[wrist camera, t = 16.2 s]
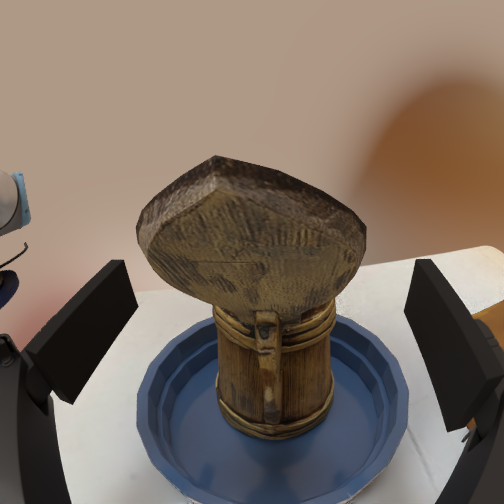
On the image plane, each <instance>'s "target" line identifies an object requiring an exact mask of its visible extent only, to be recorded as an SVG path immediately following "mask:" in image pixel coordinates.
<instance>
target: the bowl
mask: <svg viewBox="0 0 504 504" xmlns="http://www.w3.org/2000/svg"><path fill="white" fill-rule="evenodd" d="M330 355H331V369H332V373H333V378H334V401H333V403H332V406H331V408H330V410H329V412H328V414H327V417H326V418H325V419H324V420H323V421H321V422H320V423H319V424H318V425H317V426H315V427H314V428H312V429H310V430H308V431H306V432H304V433H302V434H300V435H298V436H295V437H291V438H288V439H284V440H268V439H262V438H257V437H253V436H249V435H246V434H244V433H242V432H240V431H238V430H237V429H235V428H233V427H232V426H231V425H230V424H229V423H228V422H227V420H226V419H225V418H224V417H223V416H222V413H221V411H220V408H219V405H218V402H217V394H216V378H217V374H218V371H219V369H218V336H217V327H216V324H215V321H214V318H213V317H211V318H208V319H206V320H203V321H201V322H198V323H197V324H195V325H193V326H192V327H190V328H189V329H187V330H186V331H184V332H183V333H181V334H180V335H178V336H177V337H175V338H174V339H172V340H171V341H170V342H169V343H168V344H167V345H166V346H165V347H164V349H163V350H162V351H161V352H160V353H159V354H158V355H157V357H156V358H155V359H154V360H153V361H152V362H151V363H150V365H149V367H148V369H147V372H146V374H145V376H144V379H143V381H142V383H141V386H140V388H139V390H138V393H137V429H138V432H139V435H140V437H141V440H142V442H143V444H144V447H145V449H146V452H147V454H148V456H149V459H150V461H151V463H152V464H153V465H154V466H155V467H156V469H157V470H158V471H159V472H160V473H161V474H162V475H163V476H164V477H165V478H166V479H167V480H168V481H169V482H171V483H172V484H173V485H174V486H175V487H176V488H177V489H178V490H179V491H180V492H181V493H182V494H183V495H185V496H186V497H187V498H188V499H189V500H191V501H192V502H193V503H195V504H346V503H347V502H348V501H350V500H351V499H352V498H353V497H355V496H356V495H357V494H358V493H359V492H361V491H362V490H363V489H364V488H365V487H367V486H368V485H369V484H370V483H371V482H372V481H373V480H374V479H375V478H376V477H377V476H378V475H379V474H380V473H381V472H382V471H383V470H384V469H385V467H386V466H387V465H388V464H389V463H390V461H391V459H392V457H393V455H394V453H395V451H396V449H397V447H398V445H399V443H400V441H401V439H402V437H403V434H404V432H405V430H406V428H407V422H408V402H409V390H408V387H407V384H406V381H405V379H404V376H403V373H402V371H401V368H400V365H399V363H398V361H397V359H396V358H395V357H394V355H393V354H392V353H391V352H390V351H389V350H388V348H387V347H386V346H385V345H384V344H383V343H382V341H381V340H380V339H379V338H378V337H377V336H376V335H374V334H373V333H371V332H370V331H368V330H367V329H365V328H364V327H362V326H361V325H359V324H357V323H356V322H354V321H353V320H351V319H348V318H346V317H343V316H340V315H337V314H336V323H335V325H334V327H333V328H332V330H331V332H330Z"/></svg>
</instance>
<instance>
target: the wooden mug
mask: <svg viewBox="0 0 504 504" xmlns="http://www.w3.org/2000/svg"><path fill="white" fill-rule="evenodd" d="M136 234H137V240H138V244H139V246H140V248H141V250H142V251H143V253H144V255H145V257H146V258H147V260H148V262H149V263H150V265H151V266H152V268H153V270H154V271H155V272H156V273H157V274H158V275H159V276H160V277H161V278H162V279H163V280H164V281H166V282H167V283H168V284H169V285H171V286H173V287H174V288H176V289H178V290H179V291H181V292H183V293H185V294H188V295H190V296H192V297H194V298H197V299H199V300H202V301H204V302H206V303H209V304H212V305H213V318H214V321H215V324H216V327H217V336H218V369H219V371H218V374H217V378H216V394H217V402H218V405H219V408H220V411H221V413H222V416H223V417H224V418H225V419H226V420H227V422H228V423H229V424H230V425H231V426H232V427H233V428H235V429H237V430H238V431H240V432H242V433H244V434H246V435H249V436H253V437H257V438H262V439H268V440H284V439H288V438H291V437H295V436H298V435H300V434H302V433H304V432H306V431H308V430H310V429H312V428H314V427H315V426H317V425H318V424H319V423H320V422H321V421H323V420H324V419H325V418H326V417H327V414H328V412H329V410H330V408H331V406H332V403H333V401H334V378H333V373H332V369H331V355H330V332H331V330H332V328H333V327H334V325H335V323H336V304H335V297H336V296H337V295H338V294H340V293H341V292H342V291H343V289H344V288H345V287H346V286H347V284H348V283H349V282H350V281H351V280H352V278H353V277H354V276H355V274H356V272H357V270H358V268H359V266H360V264H361V261H362V259H363V256H364V253H365V251H366V226H365V224H364V223H363V222H362V221H361V220H360V219H359V217H358V216H357V215H356V214H355V213H354V211H352V210H351V209H350V208H348V207H346V206H345V205H344V204H342V203H341V202H339V201H338V200H336V199H334V198H333V197H331V196H330V195H328V194H327V193H325V192H324V191H322V190H320V189H317V188H315V187H313V186H311V185H309V184H307V183H305V182H303V181H301V180H298V179H296V178H294V177H292V176H290V175H288V174H286V173H283V172H281V171H279V170H274V169H271V168H267V167H263V166H260V165H255V164H251V163H247V162H243V161H239V160H234V159H230V158H226V157H221V156H216V155H215V156H213V157H211V158H210V159H208V160H206V161H204V162H203V163H201V164H200V165H198V166H196V167H194V168H193V169H191V170H189V171H188V172H187V173H185V174H183V175H182V176H180V177H179V178H178V179H176V180H175V181H174V182H172V183H171V184H170V185H169V186H167V187H166V188H165V189H164V190H162V191H161V192H160V193H158V194H157V195H156V196H155V197H154V198H153V199H152V200H151V201H150V202H149V203H148V204H147V205H146V206H145V208H144V209H143V210H142V211H141V214H140V217H139V220H138V223H137V225H136Z"/></svg>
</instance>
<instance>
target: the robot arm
mask: <svg viewBox="0 0 504 504" xmlns="http://www.w3.org/2000/svg"><path fill="white" fill-rule="evenodd" d="M30 220H31V216H30V211H29V206H28V200H27V195H26V190H25V184H24V179H23V174H22V173H21V172H18V173H13V174H12V175H11V176H10V175H9V174H7V173H6V172H3V171H0V236H2V235H5V234H7V233H10V232H12V231H14V230H17V229H21V228H22V227H23V226H25V225H27V224H29V222H30ZM24 245H25V249H24V250H23V251H22V252H21V253H19V254H18V255H16V256H15V257H13V258H12V259H10V260H9V261H7V262H5V263H3V264H2V265H0V269H1V268H2V267H4V266H6V265H8V264H9V263H11V262H12V261H14V260H15V259H17V258H18V257H20V256H21V255H22V254H24V253H25V252H26V250H27V249H28V246H27V244H26V242H25V243H24ZM3 284H4V279H3V276H2V274H1V272H0V289H1V288H2V286H3ZM137 308H138V304H137V301H136V298H135V295H134V292H133V289H132V286H131V283H130V279H129V276H128V273H127V269H126V266H125V262H124V260H111V261H110V262H109V263H107V265H105V266H104V267H103V268H102V269H101V270H100V271H99V272H98V273H97V274H96V275H95V276H94V277H93V278H92V279H90V281H88V282H87V283H86V284H85V285H84V286H83V287H82V288H81V289H80V290H79V291H78V292H77V293H76V294H75V295H74V296H73V297H72V298H71V299H70V300H69V301H68V302H67V303H66V304H65V305H64V306H63V308H62V309H61V310H60V311H59V312H58V313H57V314H56V315H54V316H53V317H52V318H51V319H50V320H49V321H48V322H47V323H46V325H45V326H44V327H43V328H42V329H41V331H39V332H38V333H37V334H36V335H35V336H34V338H33V339H32V340H31V341H30V342H29V343H28V344H27V346H26V347H25V348H24V349H23V350H22V351H21V352H19V351H18V349H17V347H16V346H15V344H14V342H13V341H12V339H11V337H10V336H9V335H8V334H0V504H72V503H71V500H70V496H69V492H68V489H67V485H66V481H65V476H64V472H63V467H62V462H61V457H60V452H59V446H58V440H57V432H56V425H55V416H54V405H53V399H52V397H51V396H50V393H51V391H52V390H53V391H54V392H55V394H56V395H57V396H58V398H59V399H60V400H62V401H65V402H67V403H69V404H72V405H73V403H74V402H75V400H76V399H77V397H78V395H79V394H80V392H81V391H82V389H83V387H84V386H85V384H86V383H87V381H88V380H89V378H90V377H91V375H92V373H93V372H94V370H95V369H96V367H97V366H98V364H99V363H100V361H101V360H102V358H103V357H104V355H105V354H106V352H107V351H108V349H109V348H110V347H111V345H112V344H113V342H114V341H115V339H116V338H117V336H118V335H119V334H120V332H121V331H122V329H123V328H124V326H125V325H126V324H127V322H128V321H129V319H130V318H131V317H132V315H133V314H134V312H135V311H136V310H137ZM404 313H405V316H406V318H407V320H408V322H409V325H410V327H411V329H412V332H413V334H414V337H415V339H416V342H417V344H418V347H419V349H420V352H421V354H422V357H423V359H424V362H425V365H426V367H427V370H428V373H429V376H430V379H431V381H432V384H433V387H434V390H435V393H436V396H437V399H438V403H439V406H440V409H441V412H442V416H443V419H444V423H445V426H446V430H447V432H450V431H454V430H457V429H461V428H464V427H466V425H467V424H468V423H469V422H470V421H471V420H472V418H473V417H474V420H475V423H476V425H475V426H474V427H473V428H472V429H471V430H470V431H469V433H468V434H467V435H466V436H465V437H464V438H463V440H462V441H461V442H463V443H464V442H465V441H466V439H467V438H468V437H469V438H468V440H467V443H466V445H465V447H464V450H463V452H462V454H461V456H460V458H459V460H458V463H457V465H456V467H455V469H454V471H453V473H452V474H451V476H450V478H449V480H448V482H447V484H446V486H445V487H444V489H443V491H442V493H441V494H440V496H439V498H438V499H437V501H436V503H435V504H504V351H503V349H502V347H501V346H499V342H498V341H497V339H496V338H495V336H494V334H493V333H492V331H491V330H490V328H489V327H488V326H487V325H486V324H485V323H484V322H483V321H481V320H480V319H474V318H473V317H472V315H471V314H470V312H469V311H468V309H467V308H466V306H465V305H464V303H463V302H462V300H461V299H460V298H459V296H458V295H457V293H456V292H455V291H454V289H453V288H452V286H451V285H450V284H449V282H448V281H447V280H446V278H445V277H444V276H443V274H442V273H441V272H440V270H439V269H438V268H437V266H436V265H435V264H434V263H433V261H432V260H431V259H416V261H415V266H414V271H413V275H412V280H411V284H410V288H409V292H408V297H407V300H406V304H405V308H404Z"/></svg>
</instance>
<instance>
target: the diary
mask: <svg viewBox="0 0 504 504" xmlns="http://www.w3.org/2000/svg"><path fill="white" fill-rule="evenodd" d="M472 317H473V318H474V319H480V320H481V321H483V322H484V323H485V324H486V325H487V326H488V327H489V328H490V330H491V331H492V333H493V334H494V336H495V338H496V339H497V341H498V342H499V346H501V347H502V349H503V351H504V300H503V301H501V302H499V303H497V304H495V305H493V306H491V307H488V308H486V309H484V310H482V311H480V312H478V313H476V314H473V315H472ZM475 425H476V423H475V420H474V417H473V418H472V420H471V421H470V422H469V423H468V424H467V427H468V428H469V430H471V429H472V428H473V427H474V426H475Z"/></svg>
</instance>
